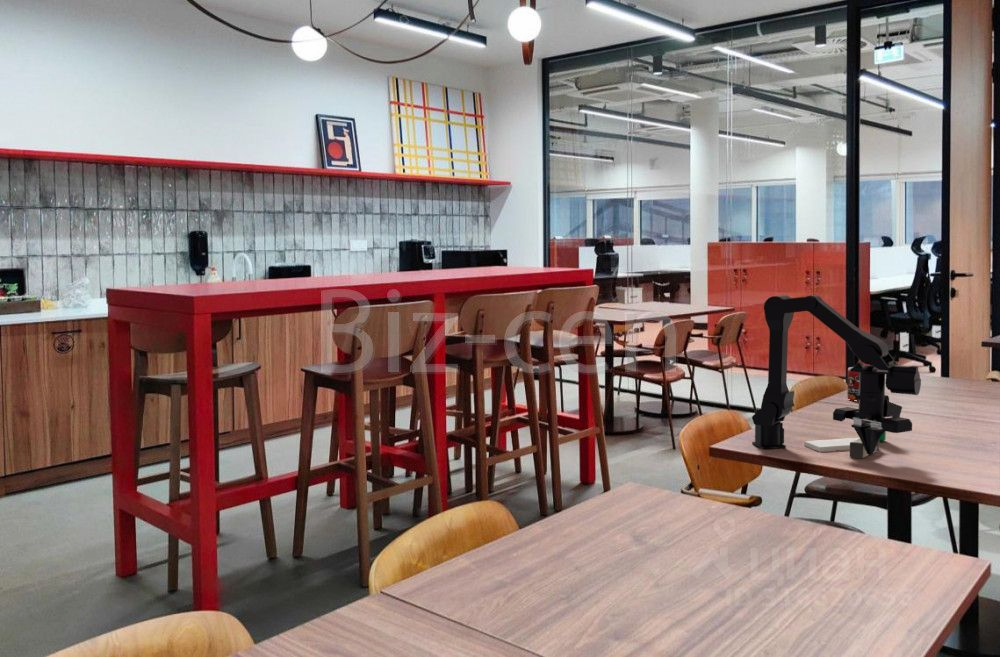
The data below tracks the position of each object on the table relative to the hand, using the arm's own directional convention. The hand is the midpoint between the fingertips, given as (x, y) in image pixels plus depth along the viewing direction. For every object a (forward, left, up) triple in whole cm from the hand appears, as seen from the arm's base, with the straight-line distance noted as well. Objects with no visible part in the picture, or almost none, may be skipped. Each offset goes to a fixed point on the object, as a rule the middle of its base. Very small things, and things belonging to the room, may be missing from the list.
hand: (870, 454), depth 202 cm
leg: (+3, +6, -1) cm, 7 cm away
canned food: (+47, +72, -2) cm, 86 cm away
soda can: (+14, +18, -2) cm, 23 cm away
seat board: (+1, +12, -1) cm, 12 cm away
